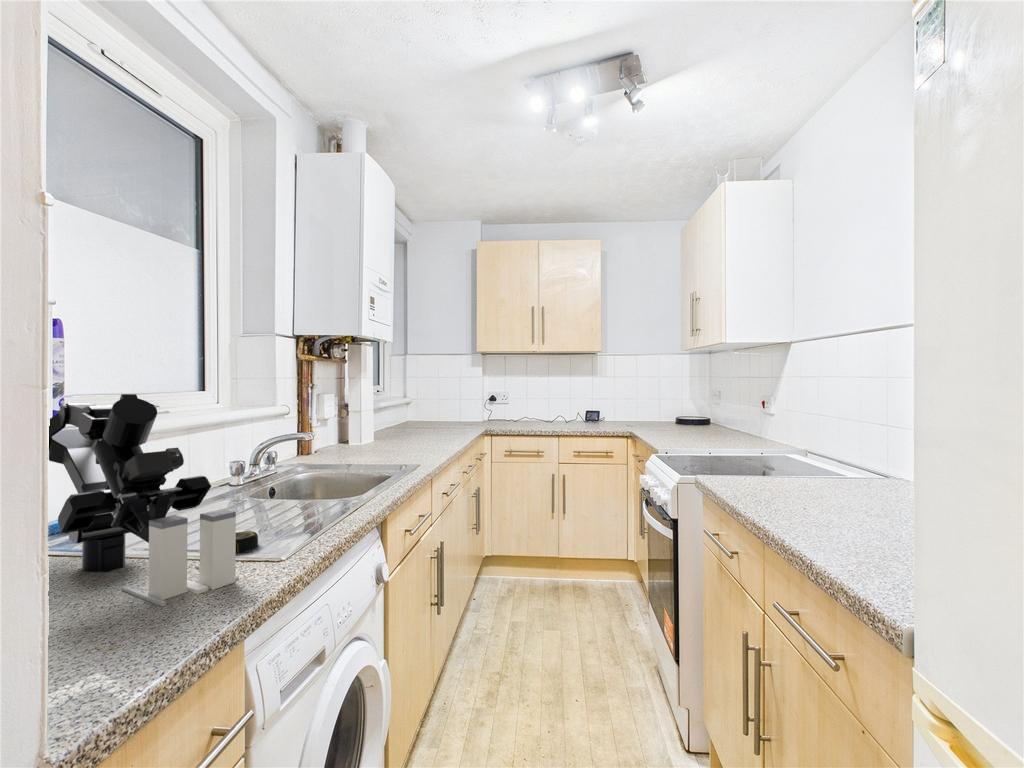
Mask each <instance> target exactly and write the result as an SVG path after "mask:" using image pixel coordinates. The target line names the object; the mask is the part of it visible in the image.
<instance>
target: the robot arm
mask: <svg viewBox="0 0 1024 768" xmlns="http://www.w3.org/2000/svg"><path fill="white" fill-rule="evenodd" d="M157 416H158V409H157V407H156V406H154V405H153V404H152V403H150V402H149V401H147V400H144V399H140V398H139V397H138V395H137V394H136V393H134V394H133V393H124V394H123V393H122V394H120V397H119V400H117V401H116V402H114V403H113V405H97V404H96V403H92V402H66V403H65V404H61V405H60V408H59V411H58V412H57V413H56V414H55V415H53V416H52V417H50V418H49V419H50V426H49V460H48V461H49V462H52V463H56V464H60V465H63V466H64V469H65V470H66V472H67V474H68V476H69V478H70V480H71V481H72V484H73V486H74V487H75V490H76V492H77V493H74V494H73V493H72V494H70V495H69V496H68V498H67V499H66V500H65V502H64V504H63V506H62V507H61V510H60V512H59V515H58V517H57V524H58V526H59V530H60V532H61V533H63V534H68V539H69V540H71V541H72V542H73V543H74V544H81V545H82V550H81V551H82V553H81V555H82V556H81V560H82V561H81V564H82V566H81V567H82V568H81V569H82V570H81V571H82V572H85V573H108V572H109V573H110V572H112V571H116V570H120V569H122V568H125V564H126V534H133V535H134V536H137V537H138V538H139V539H142V540H143V541H145V542H146V543H148V544H149V520H154V519H159V518H163V517H167V514H168V512H169V510H170V509H171V508H172V509H174V510H176V511H178V512H180V511H184V510H188V509H189V510H190V509H195V508H197V507H198V506H200V505H201V503H202V502H203V500H204V498H205V497H206V496H207V494H208V493H209V491H210V489H211V487H212V485H211V482H210V481H209V479H208V478H207V476H205V475H197V476H196V475H195V476H190V477H183V478H179V480H177V481H178V482H177V483H176V485H175V487H170V488H165V489H164V488H163V489H161V486H164V485H165V483H166V482H167V477H166V476H167V475H168V474H169V473H173V471H175V470H178V469H179V468H180V467H182V466H183V465H184V463H185V460H184V456H183V453H182V452H181V450H180V448H179V447H169V448H168V447H167V448H166V449H165V450H161V451H160V450H159V451H151V452H144V451H143V450H142V447H141V445H144V444H146V443H147V441H148V438H149V435H150V434H151V431H152V429H153V426H154V423H155V421H156V418H157ZM67 425H72V426H67Z"/></svg>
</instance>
